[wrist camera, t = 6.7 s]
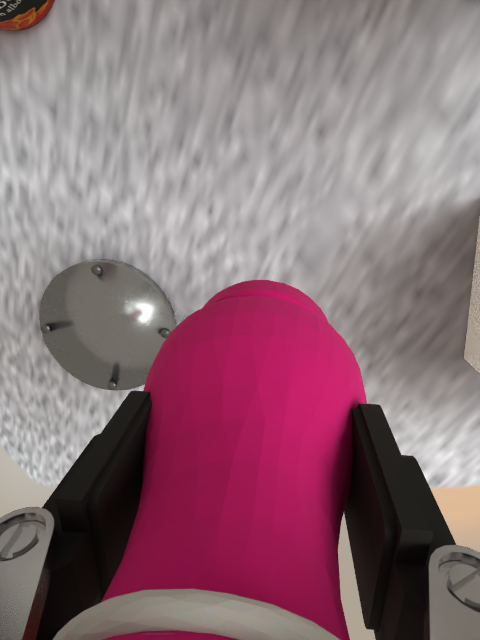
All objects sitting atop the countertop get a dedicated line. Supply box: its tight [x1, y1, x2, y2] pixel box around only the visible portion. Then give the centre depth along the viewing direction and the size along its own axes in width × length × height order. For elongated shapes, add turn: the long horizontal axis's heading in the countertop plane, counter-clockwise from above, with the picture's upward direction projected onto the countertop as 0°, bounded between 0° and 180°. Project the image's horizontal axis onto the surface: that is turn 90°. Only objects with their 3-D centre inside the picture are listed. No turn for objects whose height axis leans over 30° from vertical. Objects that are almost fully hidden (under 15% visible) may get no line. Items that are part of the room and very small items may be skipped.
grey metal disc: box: [40, 259, 176, 390], centre depth 33 cm, size 12×12×2 cm
